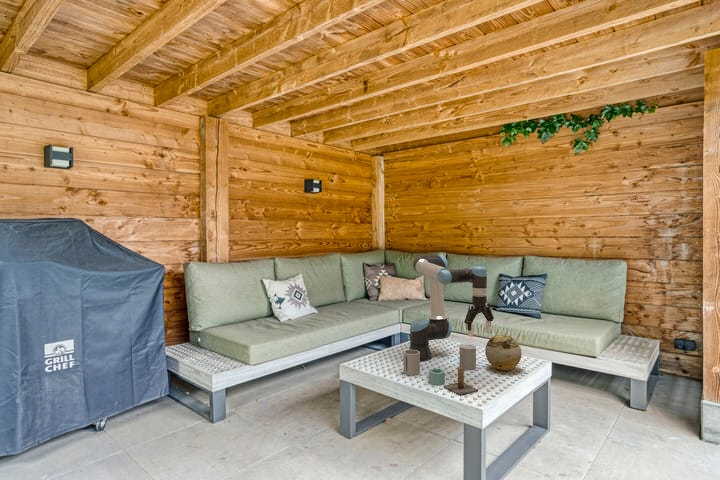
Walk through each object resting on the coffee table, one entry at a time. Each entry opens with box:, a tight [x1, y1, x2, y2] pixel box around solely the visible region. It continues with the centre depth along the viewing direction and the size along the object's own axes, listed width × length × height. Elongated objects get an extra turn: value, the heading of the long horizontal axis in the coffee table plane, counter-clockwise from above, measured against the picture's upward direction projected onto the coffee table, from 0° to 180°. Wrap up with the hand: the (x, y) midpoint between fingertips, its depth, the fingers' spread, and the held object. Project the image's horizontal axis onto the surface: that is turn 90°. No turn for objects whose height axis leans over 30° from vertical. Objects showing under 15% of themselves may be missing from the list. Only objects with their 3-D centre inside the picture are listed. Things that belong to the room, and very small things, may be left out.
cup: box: [403, 349, 421, 377], centre depth 235 cm, size 9×9×12 cm
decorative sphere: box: [484, 334, 523, 371], centre depth 239 cm, size 20×20×20 cm
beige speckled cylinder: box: [459, 343, 477, 371], centre depth 244 cm, size 10×10×12 cm
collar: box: [428, 367, 446, 386], centre depth 220 cm, size 8×8×6 cm
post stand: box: [443, 367, 479, 397], centre depth 210 cm, size 12×12×11 cm
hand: (479, 334), depth 224 cm, fingers open, 13 cm apart
